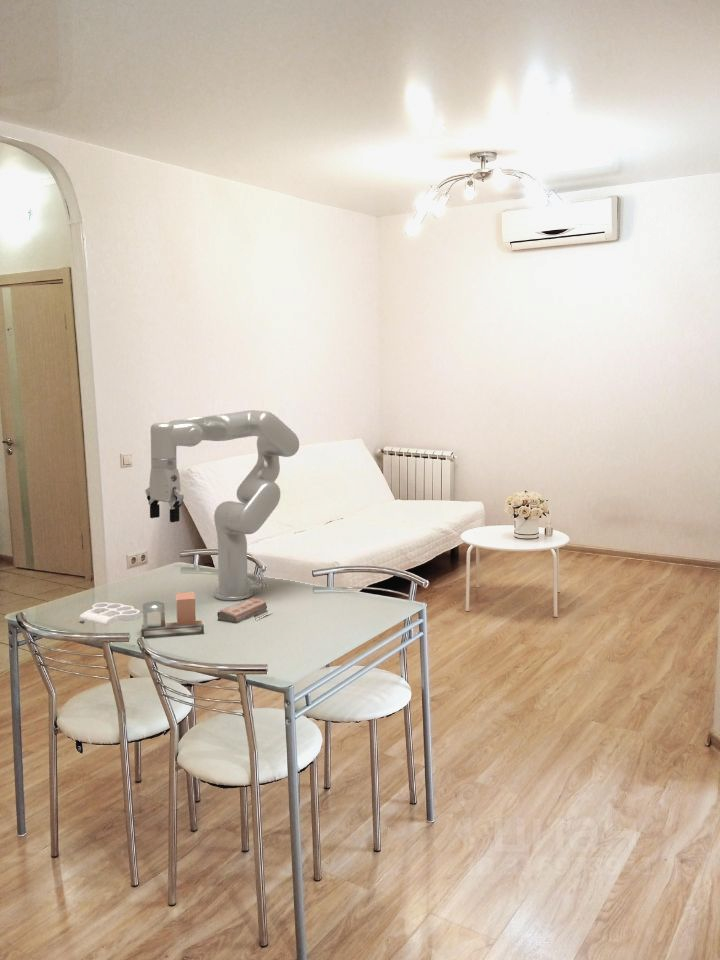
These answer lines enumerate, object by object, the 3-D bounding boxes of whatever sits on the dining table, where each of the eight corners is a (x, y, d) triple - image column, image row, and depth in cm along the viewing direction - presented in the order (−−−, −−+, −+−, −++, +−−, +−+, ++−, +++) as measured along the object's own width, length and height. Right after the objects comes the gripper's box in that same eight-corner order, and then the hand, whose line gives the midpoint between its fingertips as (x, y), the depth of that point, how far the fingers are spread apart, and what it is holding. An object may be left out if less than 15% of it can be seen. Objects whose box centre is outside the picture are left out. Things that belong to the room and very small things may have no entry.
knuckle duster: (72, 621, 243) (110, 609, 255) (113, 632, 233) (151, 619, 246) (71, 610, 242) (110, 598, 255) (113, 621, 233) (150, 608, 245)
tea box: (195, 629, 232) (195, 598, 230) (177, 630, 230) (176, 600, 229) (194, 621, 238) (193, 591, 237) (176, 622, 237) (175, 593, 236)
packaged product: (247, 595, 254) (272, 600, 249) (247, 610, 255) (272, 615, 250) (208, 610, 239) (234, 615, 234) (209, 625, 240) (235, 631, 235)
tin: (165, 627, 233) (164, 600, 232) (165, 634, 227) (164, 606, 226) (143, 629, 231) (142, 602, 230) (143, 636, 226) (142, 608, 224)
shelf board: (201, 624, 239) (201, 612, 239) (204, 637, 228) (203, 625, 227) (142, 628, 235) (141, 616, 235) (141, 642, 224) (141, 630, 223)
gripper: (192, 465, 242) (192, 521, 244) (156, 460, 253) (157, 514, 255) (171, 467, 236) (172, 525, 238) (136, 462, 247) (137, 517, 249)
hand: (164, 519), depth 247 cm, fingers open, 9 cm apart
